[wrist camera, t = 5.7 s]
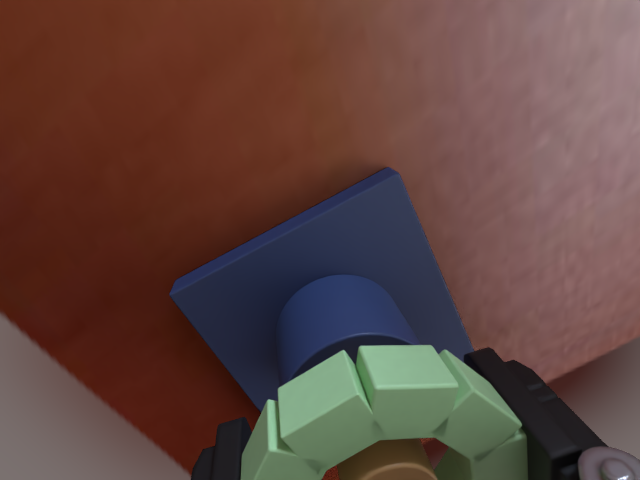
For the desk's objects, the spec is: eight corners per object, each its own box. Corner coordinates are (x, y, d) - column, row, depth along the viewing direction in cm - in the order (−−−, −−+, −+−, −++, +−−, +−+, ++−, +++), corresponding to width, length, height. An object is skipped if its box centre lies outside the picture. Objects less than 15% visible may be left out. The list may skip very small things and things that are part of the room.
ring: (285, 567, 11) (288, 630, 10) (207, 387, 9) (198, 439, 7) (501, 500, 12) (532, 551, 10) (488, 307, 9) (527, 344, 8)
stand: (289, 430, 18) (308, 666, 11) (174, 279, 15) (87, 472, 7) (464, 341, 18) (610, 522, 10) (388, 166, 14) (527, 246, 7)
